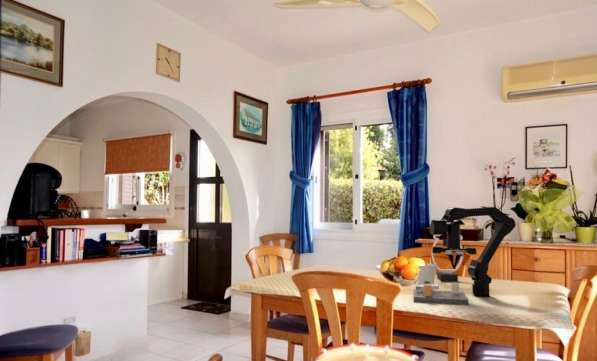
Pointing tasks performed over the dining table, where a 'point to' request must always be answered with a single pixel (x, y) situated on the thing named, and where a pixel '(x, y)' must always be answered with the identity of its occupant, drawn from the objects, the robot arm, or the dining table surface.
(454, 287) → the paddle
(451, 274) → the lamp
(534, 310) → the dining table surface
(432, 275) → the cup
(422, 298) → the panel
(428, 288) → the paddle
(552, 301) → the dining table surface
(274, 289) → the dining table surface
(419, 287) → the rocker
